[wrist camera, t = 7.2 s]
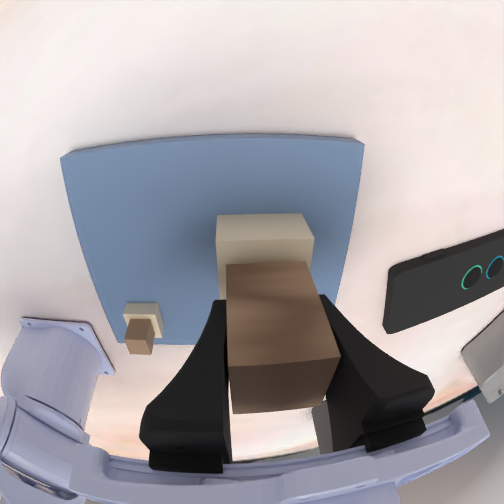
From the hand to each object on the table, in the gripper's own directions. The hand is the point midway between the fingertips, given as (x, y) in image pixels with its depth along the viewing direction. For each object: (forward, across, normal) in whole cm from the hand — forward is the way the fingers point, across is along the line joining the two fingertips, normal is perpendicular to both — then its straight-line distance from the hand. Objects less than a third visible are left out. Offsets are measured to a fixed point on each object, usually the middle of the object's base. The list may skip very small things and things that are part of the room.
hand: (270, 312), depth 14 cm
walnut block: (+2, 0, 0) cm, 2 cm away
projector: (+8, -44, +20) cm, 49 cm away
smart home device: (+8, -22, +4) cm, 23 cm away
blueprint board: (+7, +3, +1) cm, 8 cm away
